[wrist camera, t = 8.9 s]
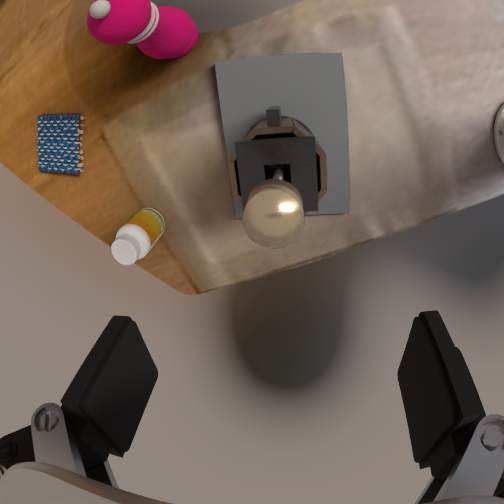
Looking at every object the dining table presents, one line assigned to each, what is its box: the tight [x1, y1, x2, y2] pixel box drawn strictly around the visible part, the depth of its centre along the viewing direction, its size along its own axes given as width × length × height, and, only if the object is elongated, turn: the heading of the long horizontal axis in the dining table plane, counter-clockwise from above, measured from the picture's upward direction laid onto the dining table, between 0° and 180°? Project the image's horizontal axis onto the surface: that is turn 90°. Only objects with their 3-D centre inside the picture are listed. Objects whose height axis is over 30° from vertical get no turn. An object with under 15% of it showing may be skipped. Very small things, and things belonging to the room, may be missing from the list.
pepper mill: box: [87, 0, 198, 59], centre depth 24 cm, size 7×7×20 cm
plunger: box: [243, 132, 305, 249], centre depth 28 cm, size 7×7×21 cm
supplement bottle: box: [111, 208, 165, 265], centre depth 42 cm, size 5×5×10 cm
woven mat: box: [37, 113, 84, 176], centre depth 41 cm, size 10×11×2 cm
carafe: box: [227, 106, 327, 215], centre depth 33 cm, size 10×11×12 cm
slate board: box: [215, 53, 349, 219], centre depth 38 cm, size 16×22×1 cm
